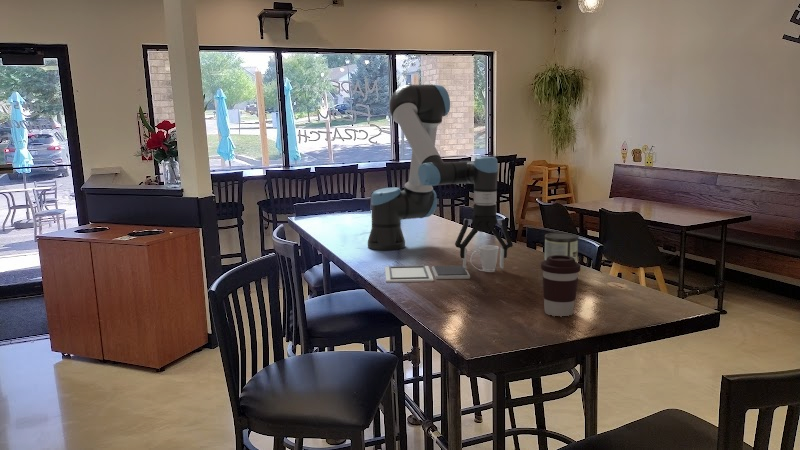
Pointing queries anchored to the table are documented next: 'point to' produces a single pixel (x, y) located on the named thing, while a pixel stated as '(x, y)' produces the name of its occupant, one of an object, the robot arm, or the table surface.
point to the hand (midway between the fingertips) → (483, 267)
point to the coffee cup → (559, 284)
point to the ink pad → (450, 272)
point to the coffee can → (561, 244)
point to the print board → (408, 274)
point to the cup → (487, 257)
